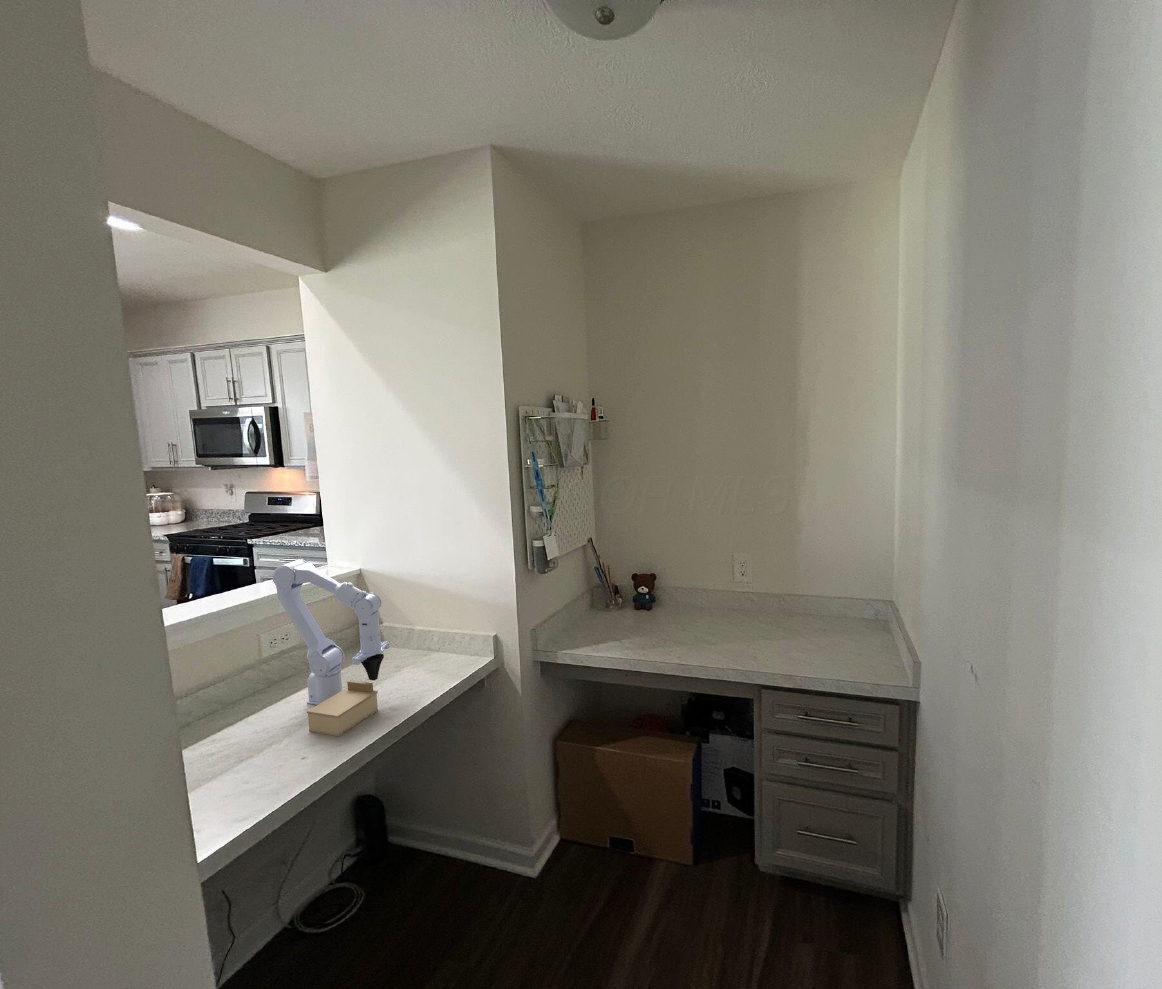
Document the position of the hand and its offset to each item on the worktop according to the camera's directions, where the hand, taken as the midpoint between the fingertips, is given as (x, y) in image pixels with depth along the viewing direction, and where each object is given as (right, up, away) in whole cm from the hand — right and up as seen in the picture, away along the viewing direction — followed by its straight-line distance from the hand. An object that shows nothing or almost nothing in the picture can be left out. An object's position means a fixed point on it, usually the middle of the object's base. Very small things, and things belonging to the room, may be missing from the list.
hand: (373, 679), depth 188 cm
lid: (-4, -3, -12) cm, 13 cm away
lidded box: (-4, -8, -11) cm, 15 cm away
